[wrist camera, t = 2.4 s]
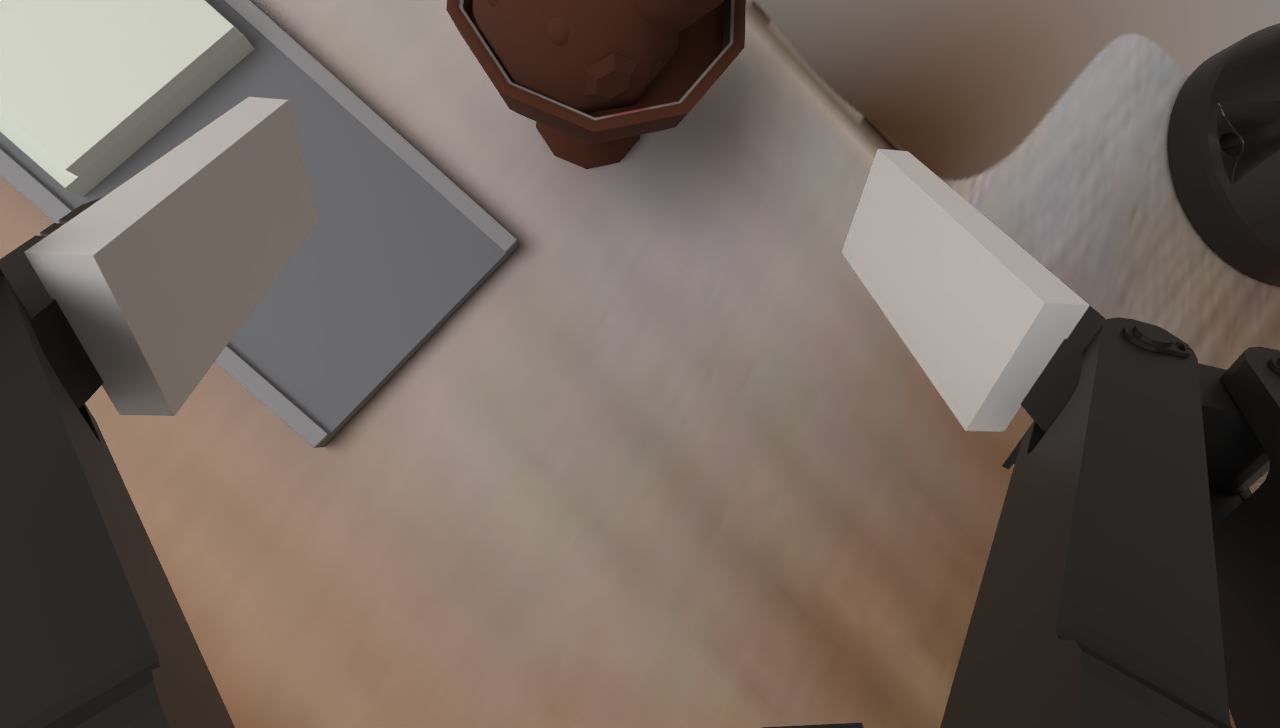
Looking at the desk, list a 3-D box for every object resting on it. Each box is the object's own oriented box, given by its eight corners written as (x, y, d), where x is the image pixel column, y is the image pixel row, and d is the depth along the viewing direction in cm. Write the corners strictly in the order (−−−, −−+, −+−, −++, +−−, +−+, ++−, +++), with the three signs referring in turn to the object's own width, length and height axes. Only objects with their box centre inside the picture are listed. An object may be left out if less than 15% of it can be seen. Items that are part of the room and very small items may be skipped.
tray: (518, 246, 30) (516, 239, 29) (323, 446, 28) (313, 447, 27) (143, -90, 29) (127, -110, 28) (-86, 90, 27) (-113, 76, 26)
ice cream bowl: (616, -19, 32) (665, -401, 17) (732, 157, 32) (881, -76, 17) (439, 73, 30) (324, -264, 15) (560, 260, 30) (562, 99, 15)
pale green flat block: (254, 48, 28) (235, 24, 27) (83, 196, 27) (51, 181, 25) (122, -69, 28) (95, -101, 26) (-59, 73, 27) (-100, 49, 25)
